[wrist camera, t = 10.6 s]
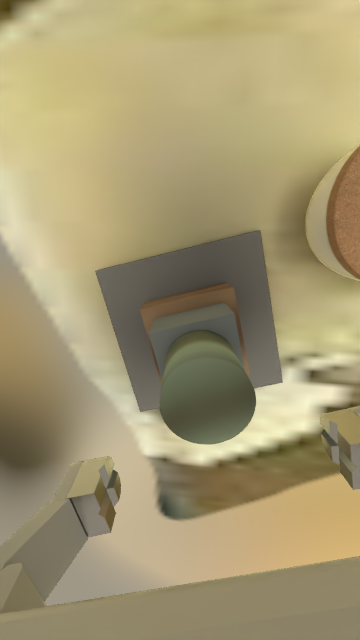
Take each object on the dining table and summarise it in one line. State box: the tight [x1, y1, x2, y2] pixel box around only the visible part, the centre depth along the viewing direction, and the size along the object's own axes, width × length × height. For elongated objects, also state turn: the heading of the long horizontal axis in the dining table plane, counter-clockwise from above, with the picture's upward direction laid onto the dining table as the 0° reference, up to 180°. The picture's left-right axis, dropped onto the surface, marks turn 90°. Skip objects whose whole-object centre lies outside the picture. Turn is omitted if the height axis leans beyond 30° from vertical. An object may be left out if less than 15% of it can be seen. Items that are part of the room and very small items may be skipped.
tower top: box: [149, 302, 245, 380], centre depth 20 cm, size 6×6×4 cm
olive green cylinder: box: [160, 330, 256, 444], centre depth 15 cm, size 5×5×5 cm
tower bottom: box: [140, 283, 250, 386], centre depth 24 cm, size 8×8×4 cm
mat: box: [95, 230, 283, 412], centre depth 26 cm, size 16×16×1 cm
